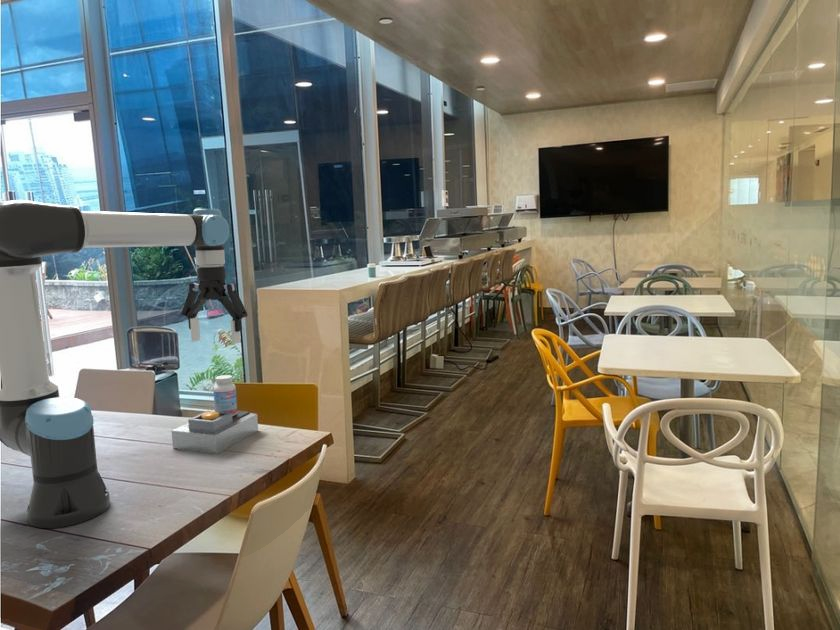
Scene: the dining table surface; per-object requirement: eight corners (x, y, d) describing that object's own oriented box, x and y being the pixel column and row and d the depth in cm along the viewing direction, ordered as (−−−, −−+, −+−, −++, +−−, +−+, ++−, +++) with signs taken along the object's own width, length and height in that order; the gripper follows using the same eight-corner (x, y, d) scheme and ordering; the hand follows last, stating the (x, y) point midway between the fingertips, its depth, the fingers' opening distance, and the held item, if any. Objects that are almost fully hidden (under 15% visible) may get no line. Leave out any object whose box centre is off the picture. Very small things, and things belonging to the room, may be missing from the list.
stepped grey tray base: (216, 453, 161) (214, 424, 159) (172, 448, 165) (170, 419, 164) (258, 430, 178) (256, 403, 177) (217, 426, 183) (216, 400, 182)
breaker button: (213, 444, 165) (211, 417, 164) (200, 443, 166) (198, 416, 165) (224, 439, 169) (222, 412, 168) (210, 437, 170) (208, 411, 169)
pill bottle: (223, 419, 171) (221, 380, 170) (210, 416, 175) (208, 377, 173) (242, 414, 176) (239, 376, 174) (229, 410, 180) (226, 373, 178)
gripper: (257, 265, 168) (261, 341, 171) (183, 264, 177) (188, 337, 180) (241, 267, 161) (245, 346, 164) (164, 266, 170) (170, 342, 173)
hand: (215, 342), depth 172 cm, fingers open, 13 cm apart
